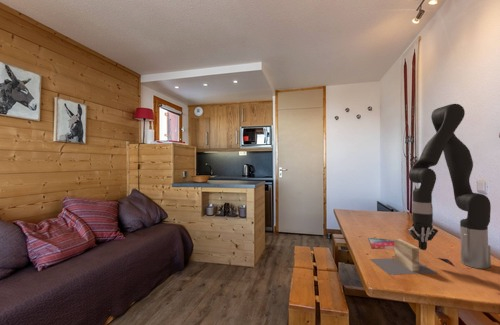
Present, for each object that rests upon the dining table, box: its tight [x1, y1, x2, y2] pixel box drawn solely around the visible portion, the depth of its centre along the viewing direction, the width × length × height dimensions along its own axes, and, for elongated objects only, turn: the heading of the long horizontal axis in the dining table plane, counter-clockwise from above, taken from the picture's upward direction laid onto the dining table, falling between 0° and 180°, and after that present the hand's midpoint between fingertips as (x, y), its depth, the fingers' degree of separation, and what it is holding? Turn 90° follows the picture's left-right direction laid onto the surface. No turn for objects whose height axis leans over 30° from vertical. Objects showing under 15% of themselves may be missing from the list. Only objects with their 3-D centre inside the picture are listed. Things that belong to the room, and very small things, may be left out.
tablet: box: [368, 237, 395, 250], centre depth 134 cm, size 19×25×1 cm
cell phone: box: [437, 258, 454, 267], centre depth 113 cm, size 8×15×1 cm, turn 66°
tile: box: [393, 238, 420, 272], centre depth 107 cm, size 3×12×10 cm, turn 1°
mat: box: [369, 257, 438, 276], centre depth 107 cm, size 21×16×1 cm
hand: (422, 249), depth 107 cm, fingers closed
